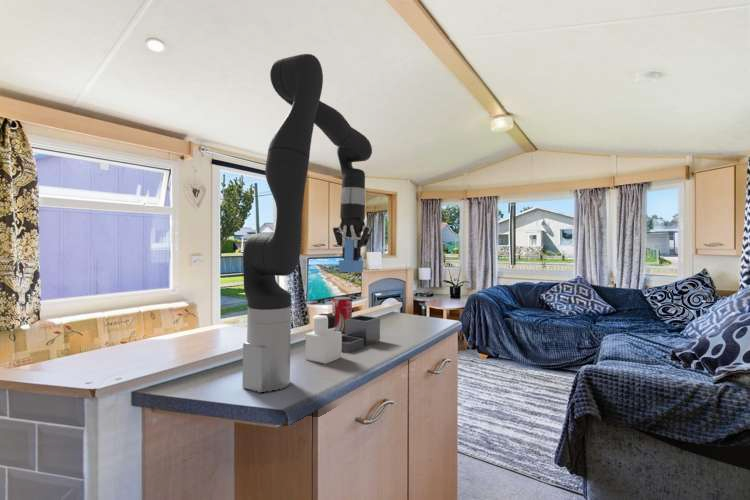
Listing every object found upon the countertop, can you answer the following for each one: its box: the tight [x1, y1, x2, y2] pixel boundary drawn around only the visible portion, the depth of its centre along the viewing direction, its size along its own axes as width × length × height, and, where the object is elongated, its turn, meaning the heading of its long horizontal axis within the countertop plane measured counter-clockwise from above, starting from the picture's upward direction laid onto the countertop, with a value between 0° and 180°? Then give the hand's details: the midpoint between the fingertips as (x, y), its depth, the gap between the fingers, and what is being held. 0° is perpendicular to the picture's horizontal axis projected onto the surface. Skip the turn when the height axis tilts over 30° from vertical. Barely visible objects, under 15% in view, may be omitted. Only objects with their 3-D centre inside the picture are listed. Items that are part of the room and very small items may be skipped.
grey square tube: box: [344, 314, 381, 347], centre depth 124 cm, size 8×8×8 cm
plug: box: [338, 239, 364, 273], centre depth 118 cm, size 5×5×10 cm
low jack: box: [341, 334, 365, 354], centre depth 116 cm, size 8×8×2 cm
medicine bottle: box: [304, 313, 343, 365], centre depth 105 cm, size 7×7×12 cm
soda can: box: [331, 296, 353, 333], centre depth 139 cm, size 7×7×12 cm
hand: (351, 259), depth 118 cm, fingers closed on plug, 3 cm apart
